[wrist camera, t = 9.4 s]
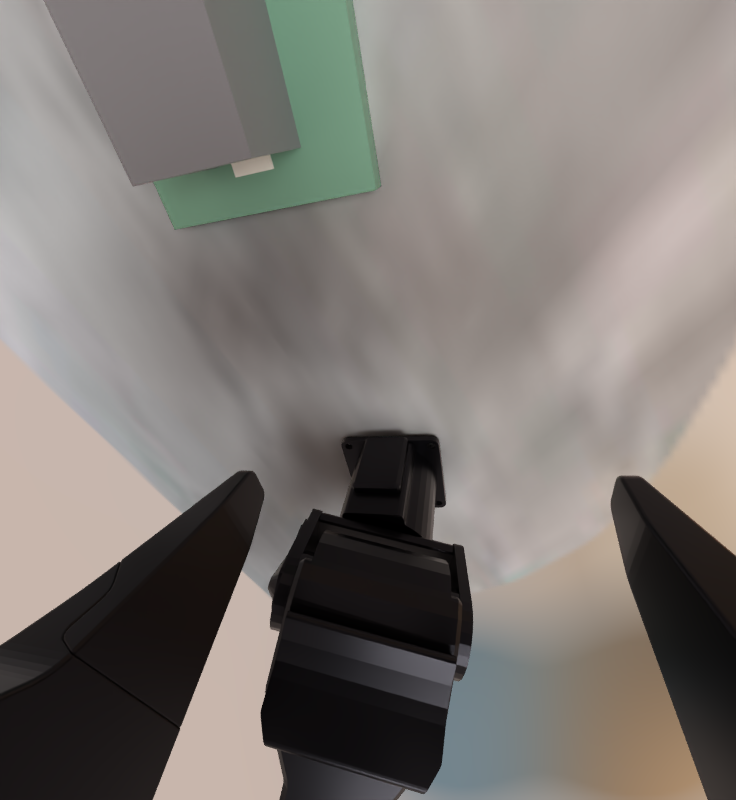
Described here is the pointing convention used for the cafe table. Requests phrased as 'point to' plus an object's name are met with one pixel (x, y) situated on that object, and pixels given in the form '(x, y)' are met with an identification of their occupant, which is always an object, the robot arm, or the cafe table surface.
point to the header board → (315, 121)
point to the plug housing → (180, 81)
